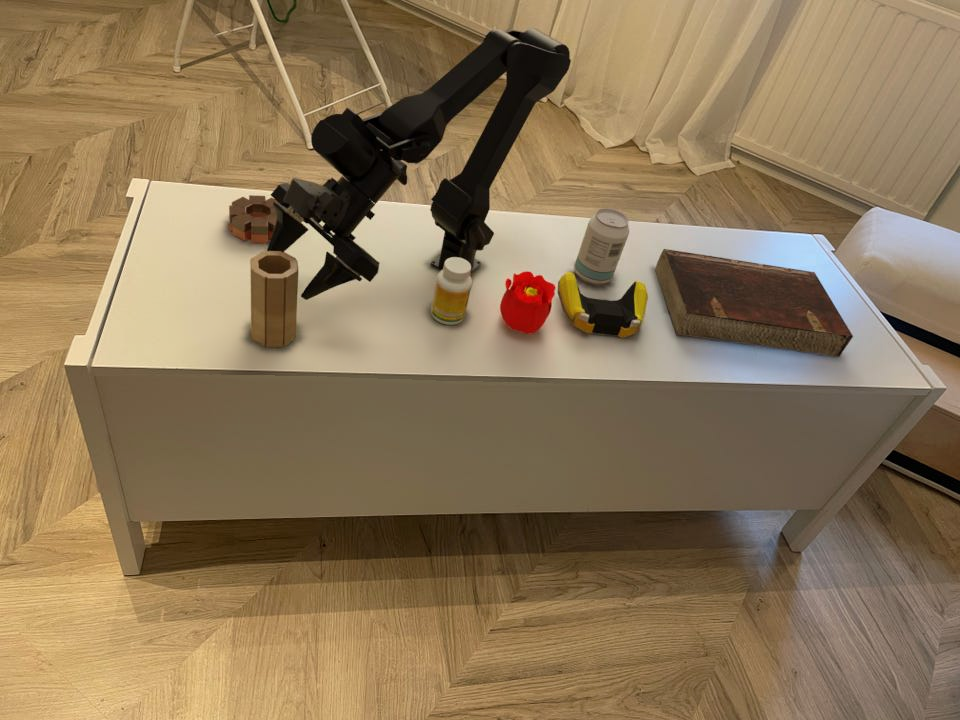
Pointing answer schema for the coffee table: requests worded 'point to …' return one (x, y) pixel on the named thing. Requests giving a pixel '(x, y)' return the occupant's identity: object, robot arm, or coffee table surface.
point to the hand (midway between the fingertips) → (284, 279)
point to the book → (750, 303)
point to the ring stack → (253, 218)
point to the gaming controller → (603, 309)
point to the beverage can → (602, 246)
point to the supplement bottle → (452, 291)
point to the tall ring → (273, 298)
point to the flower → (527, 302)
